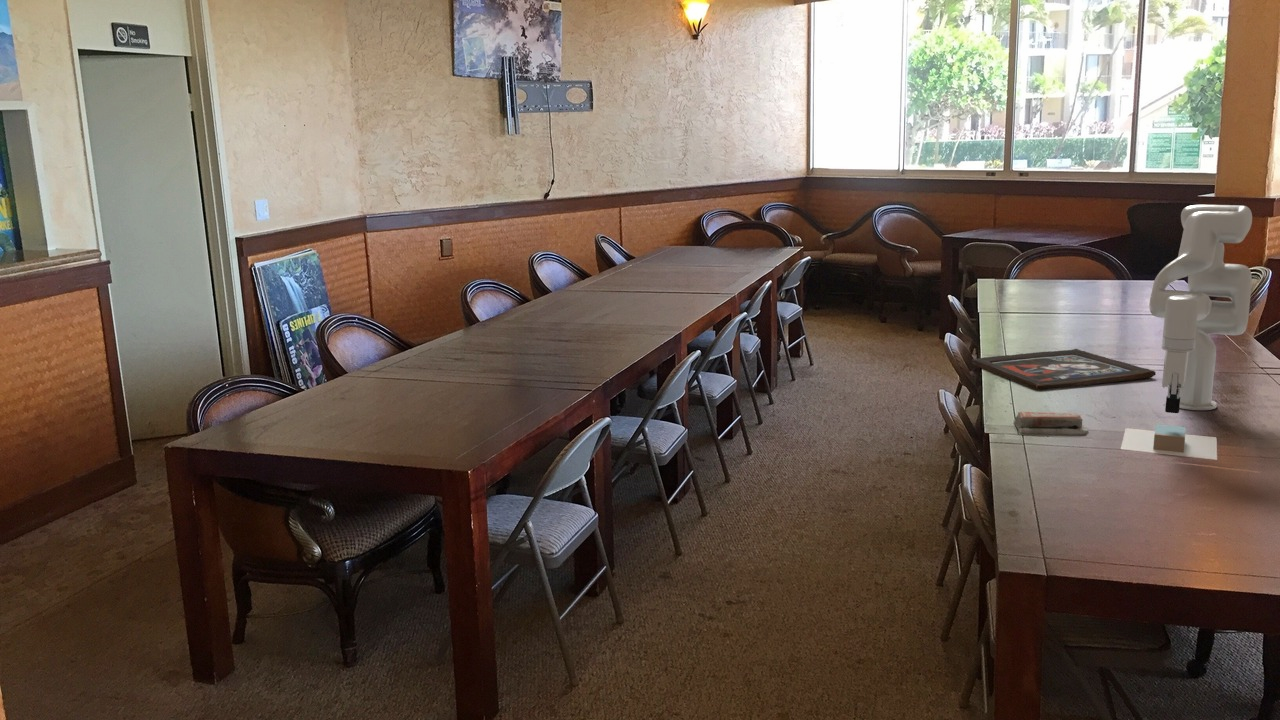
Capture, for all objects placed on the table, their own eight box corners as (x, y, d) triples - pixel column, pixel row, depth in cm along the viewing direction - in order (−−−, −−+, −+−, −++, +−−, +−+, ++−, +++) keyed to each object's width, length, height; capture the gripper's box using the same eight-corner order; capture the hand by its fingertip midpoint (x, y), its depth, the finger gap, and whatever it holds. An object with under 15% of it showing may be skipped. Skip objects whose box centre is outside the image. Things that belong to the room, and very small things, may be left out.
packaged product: (1020, 418, 283) (1014, 408, 292) (1019, 435, 284) (1013, 424, 293) (1090, 419, 280) (1080, 409, 289) (1088, 436, 281) (1079, 425, 290)
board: (1125, 429, 284) (1125, 428, 284) (1216, 438, 274) (1216, 437, 274) (1120, 450, 267) (1120, 449, 267) (1217, 461, 257) (1217, 459, 257)
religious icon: (1159, 379, 335) (1160, 370, 335) (1038, 393, 325) (1038, 384, 324) (1079, 354, 374) (1079, 346, 373) (968, 366, 363) (969, 358, 362)
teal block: (1156, 424, 274) (1154, 434, 265) (1185, 427, 270) (1185, 437, 262) (1154, 438, 275) (1153, 449, 266) (1184, 441, 271) (1183, 452, 263)
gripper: (1163, 337, 273) (1157, 403, 277) (1160, 348, 260) (1154, 418, 265) (1195, 339, 270) (1188, 406, 274) (1194, 350, 257) (1187, 421, 261)
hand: (1172, 411), depth 269 cm, fingers closed
